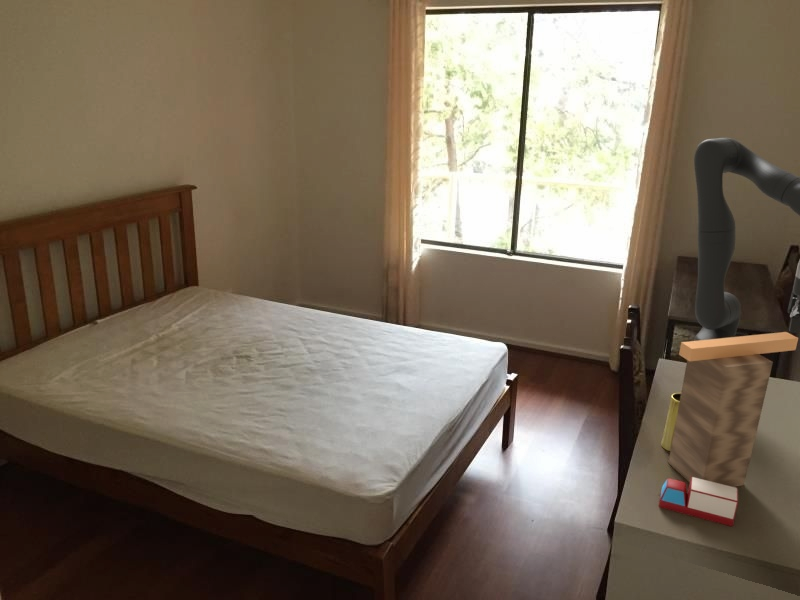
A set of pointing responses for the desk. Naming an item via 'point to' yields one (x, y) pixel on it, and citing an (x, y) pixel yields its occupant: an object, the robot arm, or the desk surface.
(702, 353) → the light orange bar
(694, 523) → the desk surface
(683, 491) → the toy truck
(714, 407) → the pedestal
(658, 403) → the desk surface
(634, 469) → the desk surface
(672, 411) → the vase
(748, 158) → the robot arm
